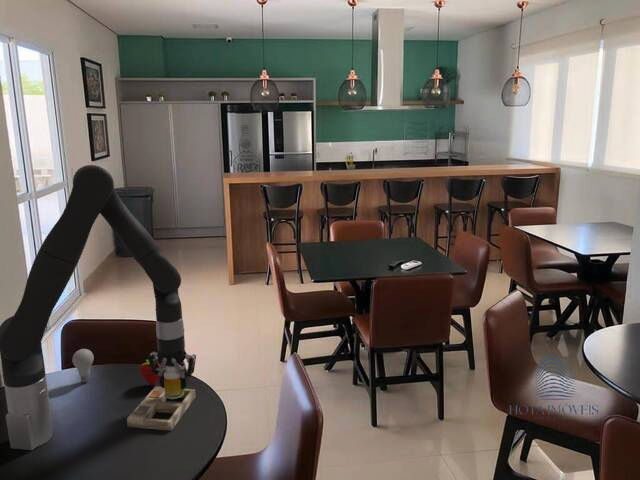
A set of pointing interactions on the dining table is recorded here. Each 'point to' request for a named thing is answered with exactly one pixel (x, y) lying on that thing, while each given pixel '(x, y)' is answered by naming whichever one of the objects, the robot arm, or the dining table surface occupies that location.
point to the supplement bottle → (172, 383)
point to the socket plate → (159, 410)
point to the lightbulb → (83, 363)
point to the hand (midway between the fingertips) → (174, 387)
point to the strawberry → (148, 373)
